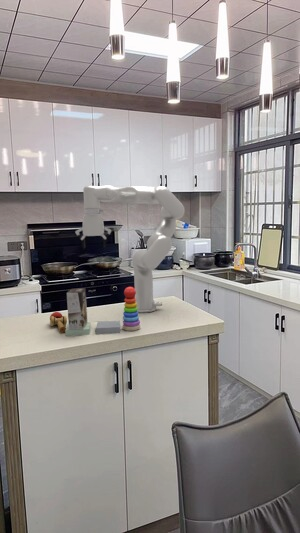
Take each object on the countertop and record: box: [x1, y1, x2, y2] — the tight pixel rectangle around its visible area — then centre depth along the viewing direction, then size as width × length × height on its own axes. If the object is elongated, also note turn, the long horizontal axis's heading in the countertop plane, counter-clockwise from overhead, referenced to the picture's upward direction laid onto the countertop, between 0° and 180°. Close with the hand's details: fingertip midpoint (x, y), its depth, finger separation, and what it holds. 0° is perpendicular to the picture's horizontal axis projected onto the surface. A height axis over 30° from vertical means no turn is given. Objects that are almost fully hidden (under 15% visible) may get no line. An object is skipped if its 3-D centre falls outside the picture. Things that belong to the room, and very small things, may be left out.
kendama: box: [49, 311, 68, 334], centre depth 170 cm, size 8×6×18 cm
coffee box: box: [66, 287, 88, 330], centre depth 161 cm, size 9×6×16 cm
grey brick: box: [95, 320, 121, 335], centre depth 164 cm, size 10×10×3 cm
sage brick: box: [64, 321, 92, 337], centre depth 163 cm, size 10×10×3 cm
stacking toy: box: [122, 286, 141, 332], centre depth 164 cm, size 8×8×19 cm
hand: (94, 247), depth 183 cm, fingers open, 9 cm apart
